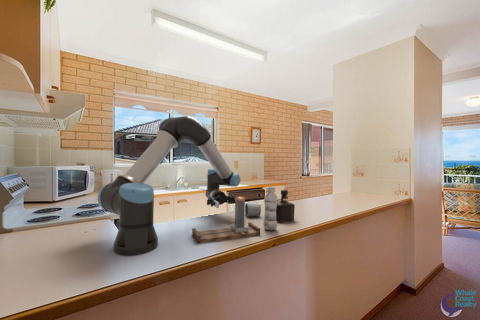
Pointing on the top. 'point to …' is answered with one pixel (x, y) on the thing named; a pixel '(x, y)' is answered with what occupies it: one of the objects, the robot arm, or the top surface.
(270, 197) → the plastic bottle
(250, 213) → the ceramic mug
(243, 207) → the grey upright piece
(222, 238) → the fader track
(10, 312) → the top surface
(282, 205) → the black block with knob
